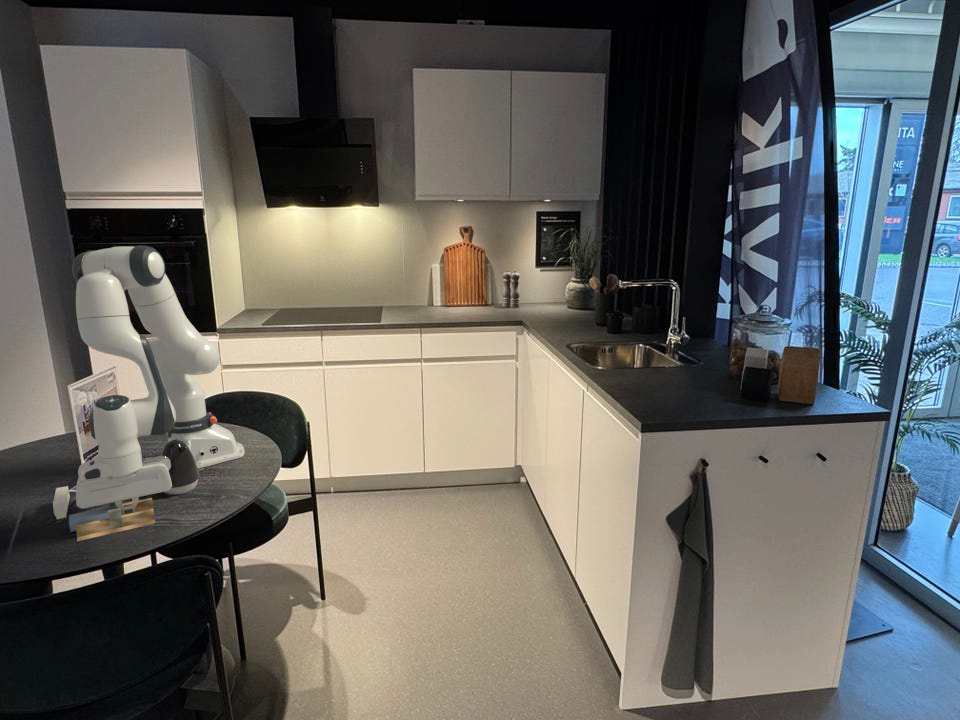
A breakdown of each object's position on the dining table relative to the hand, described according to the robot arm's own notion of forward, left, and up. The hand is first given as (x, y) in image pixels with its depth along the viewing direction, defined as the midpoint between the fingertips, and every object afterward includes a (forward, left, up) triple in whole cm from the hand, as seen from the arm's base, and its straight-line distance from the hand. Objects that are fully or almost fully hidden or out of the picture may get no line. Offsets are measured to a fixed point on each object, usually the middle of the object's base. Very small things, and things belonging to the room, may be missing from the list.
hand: (129, 514), depth 145 cm
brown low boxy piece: (+7, 0, -2) cm, 7 cm away
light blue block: (+7, 0, -1) cm, 7 cm away
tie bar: (+15, -14, 0) cm, 20 cm away
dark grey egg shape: (-12, -12, -2) cm, 18 cm away
